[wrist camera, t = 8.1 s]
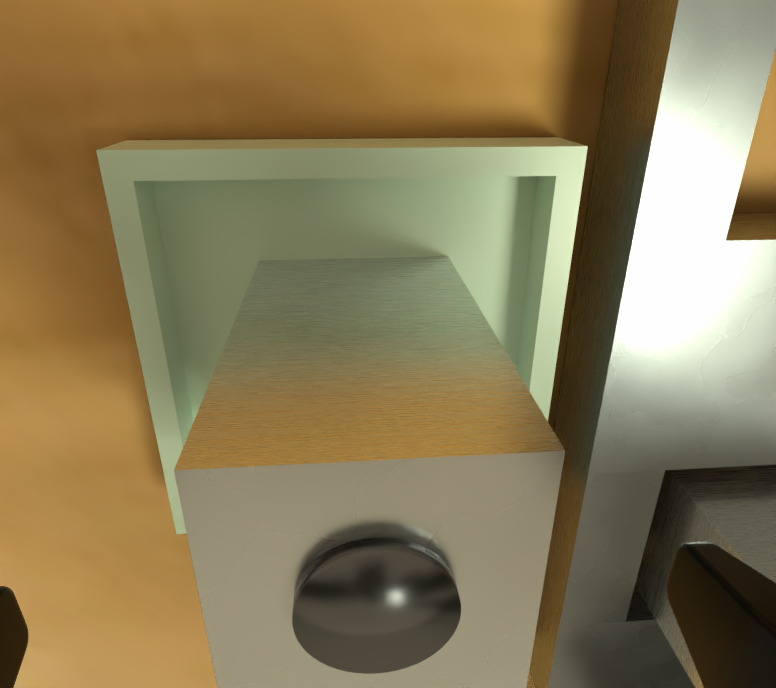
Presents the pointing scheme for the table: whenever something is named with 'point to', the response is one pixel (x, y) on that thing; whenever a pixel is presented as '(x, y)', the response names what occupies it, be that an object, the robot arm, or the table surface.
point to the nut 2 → (707, 532)
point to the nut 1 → (368, 485)
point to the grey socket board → (659, 326)
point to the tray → (332, 240)
